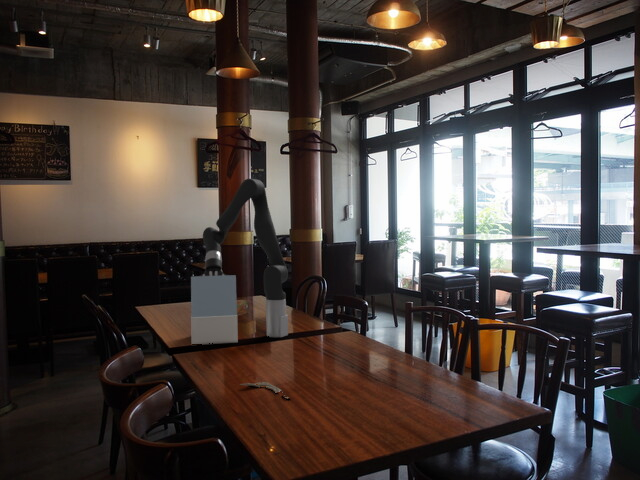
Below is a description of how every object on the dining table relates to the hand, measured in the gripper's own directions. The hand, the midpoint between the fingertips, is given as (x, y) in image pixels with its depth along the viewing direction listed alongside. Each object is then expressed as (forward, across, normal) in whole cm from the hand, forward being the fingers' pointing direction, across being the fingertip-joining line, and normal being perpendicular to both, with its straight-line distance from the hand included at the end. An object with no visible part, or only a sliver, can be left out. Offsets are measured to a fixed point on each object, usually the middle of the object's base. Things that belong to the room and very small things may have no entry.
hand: (213, 292), depth 224 cm
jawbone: (+66, +17, -35) cm, 76 cm away
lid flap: (+2, 0, 0) cm, 2 cm away
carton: (+12, 0, +19) cm, 23 cm away
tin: (-25, +12, +58) cm, 65 cm away
